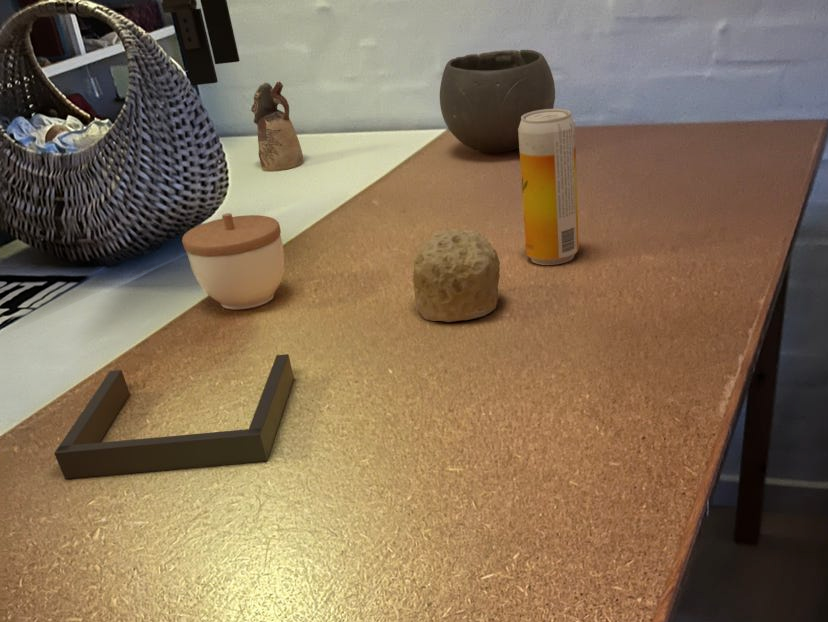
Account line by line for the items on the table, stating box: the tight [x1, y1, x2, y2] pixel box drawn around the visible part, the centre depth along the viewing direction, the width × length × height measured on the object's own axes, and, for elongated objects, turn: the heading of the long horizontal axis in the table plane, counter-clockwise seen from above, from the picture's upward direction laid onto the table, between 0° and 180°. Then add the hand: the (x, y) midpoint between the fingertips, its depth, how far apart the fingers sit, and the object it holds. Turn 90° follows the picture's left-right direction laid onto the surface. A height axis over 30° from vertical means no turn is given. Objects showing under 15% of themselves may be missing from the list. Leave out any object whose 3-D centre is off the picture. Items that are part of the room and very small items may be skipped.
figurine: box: [250, 80, 304, 172], centre depth 157 cm, size 7×7×12 cm
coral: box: [412, 228, 501, 323], centre depth 102 cm, size 9×9×8 cm
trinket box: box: [181, 212, 285, 311], centre depth 109 cm, size 11×11×9 cm
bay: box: [53, 353, 295, 480], centre depth 88 cm, size 16×17×2 cm
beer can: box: [518, 108, 580, 266], centre depth 109 cm, size 6×6×15 cm
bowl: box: [439, 49, 556, 154], centre depth 151 cm, size 18×18×13 cm
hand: (216, 72), depth 107 cm, fingers open, 12 cm apart
